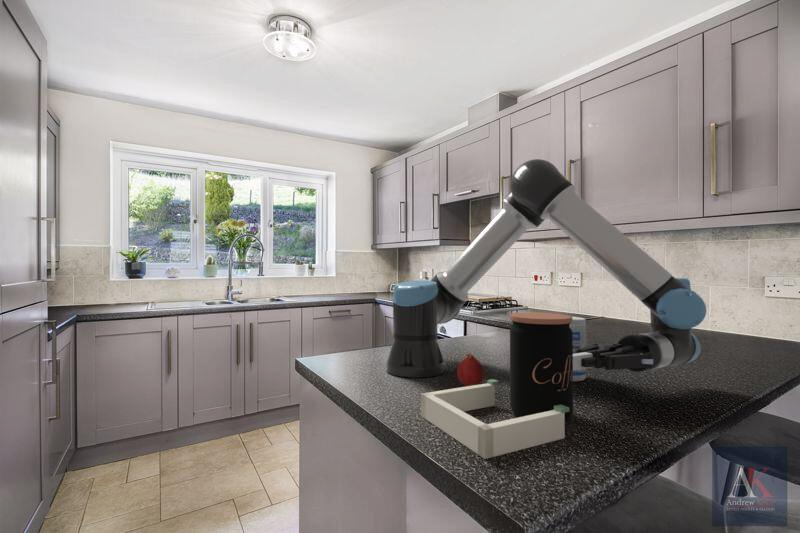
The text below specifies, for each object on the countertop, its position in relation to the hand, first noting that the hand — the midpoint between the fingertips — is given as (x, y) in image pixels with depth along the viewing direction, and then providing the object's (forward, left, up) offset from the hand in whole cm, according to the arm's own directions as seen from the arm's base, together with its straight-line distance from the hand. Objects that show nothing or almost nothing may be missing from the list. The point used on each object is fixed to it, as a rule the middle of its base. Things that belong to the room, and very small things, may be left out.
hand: (565, 363), depth 72 cm
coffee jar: (-1, -6, -9) cm, 11 cm away
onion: (-19, -8, -9) cm, 22 cm away
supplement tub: (-17, +19, -9) cm, 27 cm away
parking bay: (-1, -17, -9) cm, 19 cm away
